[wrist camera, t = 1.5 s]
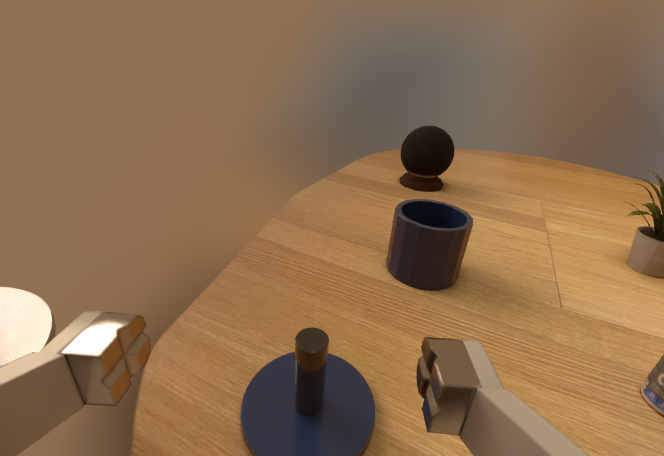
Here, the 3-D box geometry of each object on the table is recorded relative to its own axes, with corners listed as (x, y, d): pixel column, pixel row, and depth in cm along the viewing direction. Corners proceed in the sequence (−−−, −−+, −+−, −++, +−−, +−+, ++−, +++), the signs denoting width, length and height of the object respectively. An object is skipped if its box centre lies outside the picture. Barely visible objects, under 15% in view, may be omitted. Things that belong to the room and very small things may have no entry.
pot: (379, 278, 48) (388, 219, 44) (394, 245, 57) (403, 194, 53) (454, 298, 45) (472, 237, 41) (458, 261, 54) (473, 207, 50)
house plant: (568, 243, 62) (607, 158, 55) (632, 243, 64) (678, 160, 56) (640, 291, 49) (702, 188, 42) (717, 289, 51) (789, 190, 44)
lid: (211, 444, 26) (198, 370, 22) (283, 343, 36) (282, 279, 32) (348, 515, 23) (361, 441, 19) (387, 382, 32) (400, 315, 29)
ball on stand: (453, 184, 89) (467, 127, 82) (433, 196, 80) (447, 133, 73) (409, 173, 96) (419, 119, 89) (386, 182, 87) (395, 124, 80)
